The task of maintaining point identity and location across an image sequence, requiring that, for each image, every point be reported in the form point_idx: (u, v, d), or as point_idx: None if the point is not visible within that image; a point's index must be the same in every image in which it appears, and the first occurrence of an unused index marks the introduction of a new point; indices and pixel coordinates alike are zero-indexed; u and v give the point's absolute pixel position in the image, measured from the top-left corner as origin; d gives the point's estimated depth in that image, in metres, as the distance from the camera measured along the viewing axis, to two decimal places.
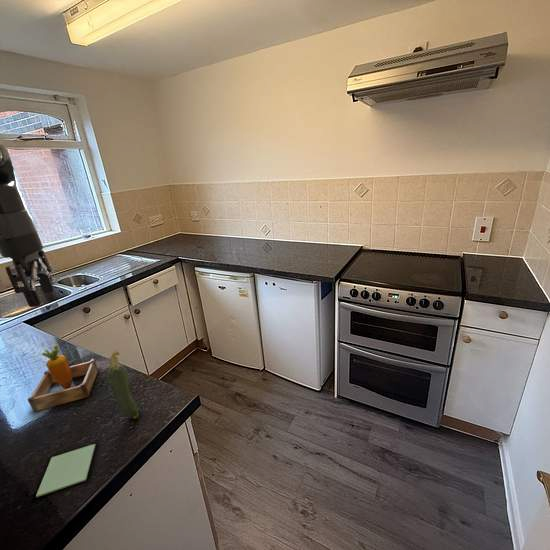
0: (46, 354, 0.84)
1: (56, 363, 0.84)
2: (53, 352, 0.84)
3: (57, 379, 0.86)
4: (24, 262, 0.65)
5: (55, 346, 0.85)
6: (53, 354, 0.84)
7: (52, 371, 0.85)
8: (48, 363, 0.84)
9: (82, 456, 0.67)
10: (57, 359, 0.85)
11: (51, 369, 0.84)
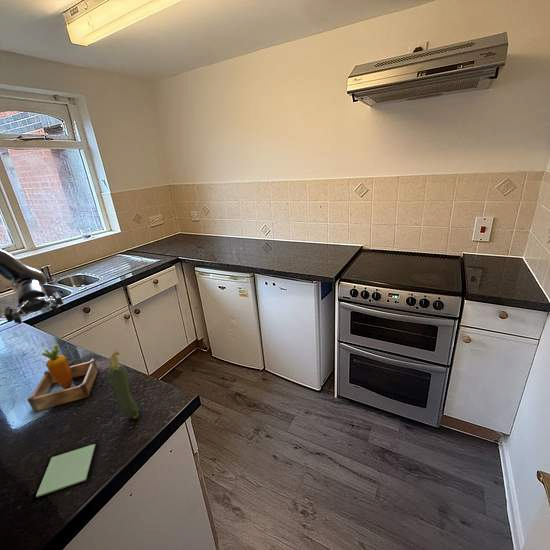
0: (46, 354, 0.84)
1: (56, 363, 0.84)
2: (53, 352, 0.84)
3: (57, 379, 0.86)
4: None
5: (55, 346, 0.85)
6: (53, 354, 0.84)
7: (52, 371, 0.85)
8: (48, 363, 0.84)
9: (82, 456, 0.67)
10: (57, 359, 0.85)
11: (51, 369, 0.84)
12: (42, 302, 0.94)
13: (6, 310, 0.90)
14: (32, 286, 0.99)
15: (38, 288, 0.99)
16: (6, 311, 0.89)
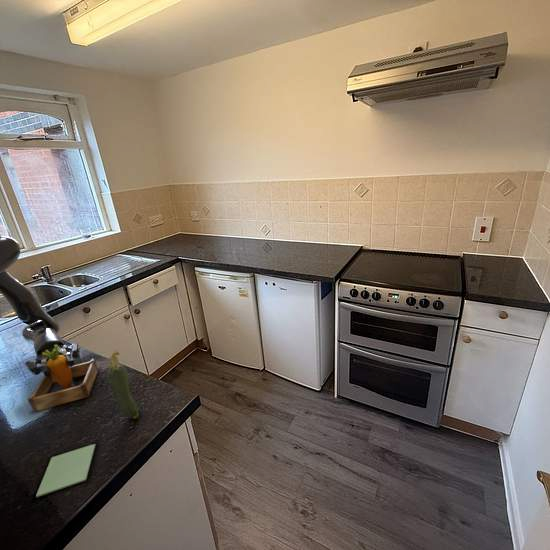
0: (46, 354, 0.84)
1: (56, 363, 0.84)
2: (53, 352, 0.84)
3: (57, 379, 0.86)
4: None
5: (55, 346, 0.85)
6: (53, 354, 0.84)
7: (52, 371, 0.85)
8: (48, 363, 0.84)
9: (82, 456, 0.67)
10: (57, 359, 0.85)
11: (51, 369, 0.84)
12: None
13: (29, 364, 0.86)
14: (50, 336, 0.95)
15: (56, 337, 0.96)
16: (30, 365, 0.86)
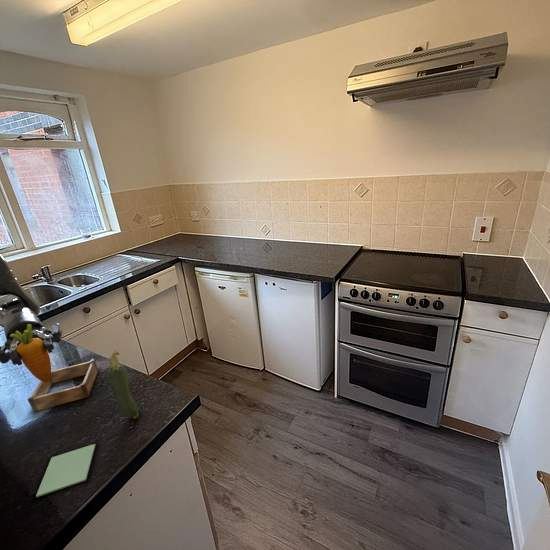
0: (16, 336, 0.64)
1: (29, 347, 0.65)
2: (25, 333, 0.65)
3: (31, 369, 0.67)
4: None
5: (28, 326, 0.66)
6: (25, 336, 0.65)
7: (24, 358, 0.65)
8: (18, 348, 0.65)
9: (82, 456, 0.67)
10: (31, 343, 0.66)
11: (23, 356, 0.65)
12: None
13: None
14: (24, 316, 0.76)
15: (32, 318, 0.76)
16: None
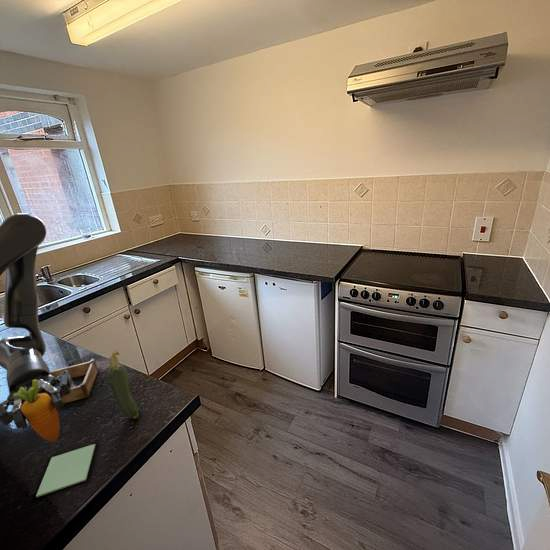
0: (20, 395, 0.56)
1: (35, 407, 0.57)
2: (30, 392, 0.56)
3: (37, 430, 0.58)
4: None
5: (34, 382, 0.58)
6: (30, 394, 0.57)
7: (29, 419, 0.57)
8: (23, 408, 0.57)
9: (82, 456, 0.67)
10: (37, 401, 0.58)
11: (28, 417, 0.57)
12: None
13: None
14: (29, 362, 0.68)
15: (38, 364, 0.68)
16: None
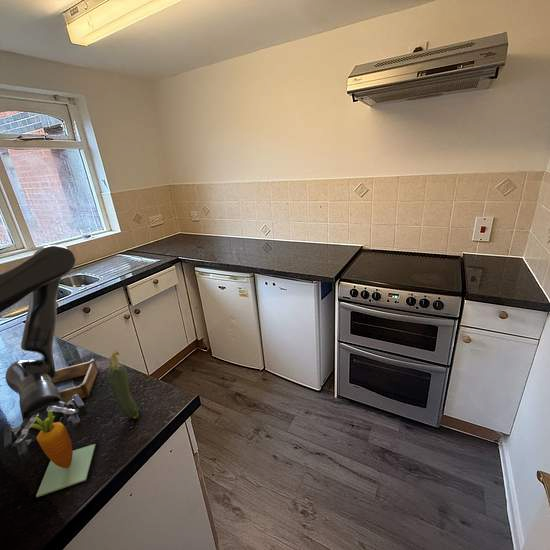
0: (36, 426, 0.59)
1: (50, 437, 0.60)
2: (46, 422, 0.59)
3: (52, 458, 0.61)
4: None
5: (49, 412, 0.61)
6: (46, 425, 0.60)
7: (45, 449, 0.60)
8: (39, 438, 0.60)
9: (82, 456, 0.67)
10: (52, 431, 0.60)
11: (43, 446, 0.60)
12: (58, 415, 0.66)
13: (6, 435, 0.61)
14: (41, 388, 0.70)
15: (50, 390, 0.71)
16: (7, 437, 0.61)
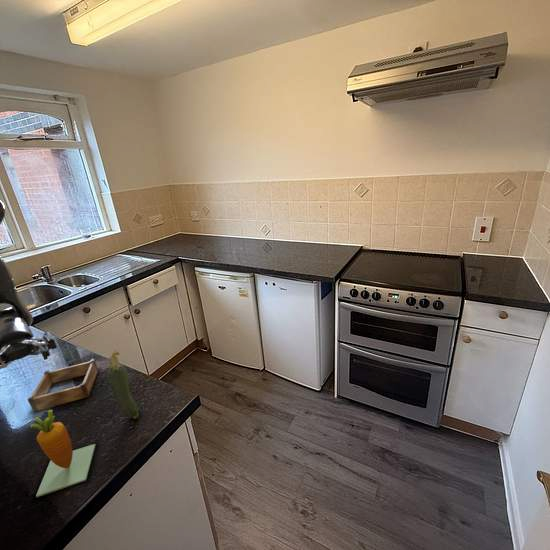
0: (36, 426, 0.59)
1: (50, 437, 0.60)
2: (46, 422, 0.59)
3: (52, 458, 0.61)
4: None
5: (49, 412, 0.61)
6: (46, 425, 0.60)
7: (45, 448, 0.60)
8: (39, 438, 0.60)
9: (82, 456, 0.67)
10: (52, 431, 0.60)
11: (43, 446, 0.60)
12: (28, 347, 0.70)
13: None
14: (15, 326, 0.75)
15: (23, 328, 0.75)
16: None
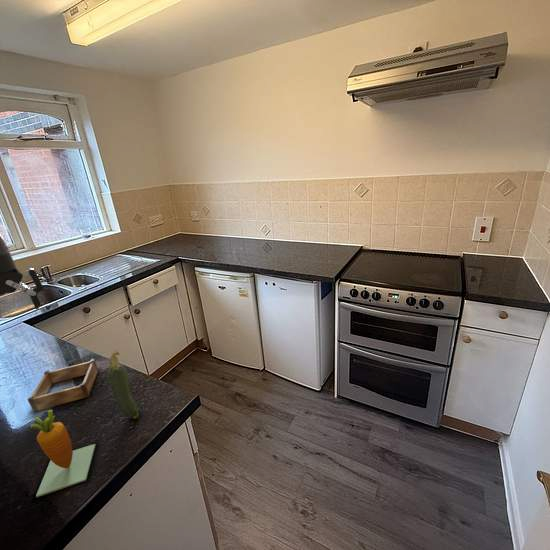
0: (36, 426, 0.59)
1: (50, 437, 0.60)
2: (46, 422, 0.59)
3: (52, 458, 0.61)
4: None
5: (49, 412, 0.61)
6: (46, 425, 0.60)
7: (45, 448, 0.60)
8: (39, 438, 0.60)
9: (82, 456, 0.67)
10: (52, 431, 0.60)
11: (43, 446, 0.60)
12: None
13: None
14: None
15: None
16: None
